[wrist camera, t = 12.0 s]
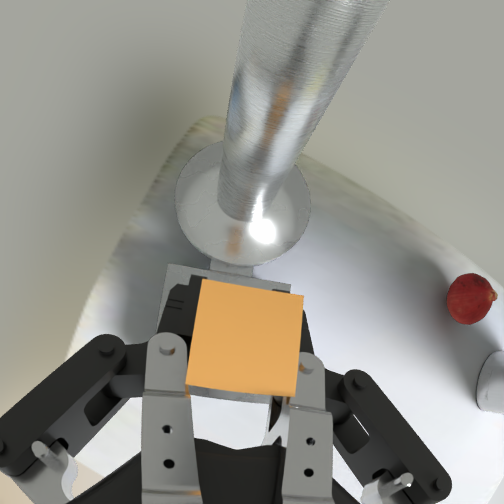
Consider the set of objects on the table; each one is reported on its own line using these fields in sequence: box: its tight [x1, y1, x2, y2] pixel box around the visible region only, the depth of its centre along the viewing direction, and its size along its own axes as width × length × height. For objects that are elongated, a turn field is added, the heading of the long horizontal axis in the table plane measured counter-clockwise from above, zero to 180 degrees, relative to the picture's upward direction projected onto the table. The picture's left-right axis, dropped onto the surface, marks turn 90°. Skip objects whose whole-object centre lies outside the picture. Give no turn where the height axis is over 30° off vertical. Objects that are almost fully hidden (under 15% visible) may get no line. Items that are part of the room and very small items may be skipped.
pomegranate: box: [447, 273, 498, 325], centre depth 26 cm, size 6×6×8 cm
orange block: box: [185, 279, 304, 397], centre depth 12 cm, size 3×3×9 cm
